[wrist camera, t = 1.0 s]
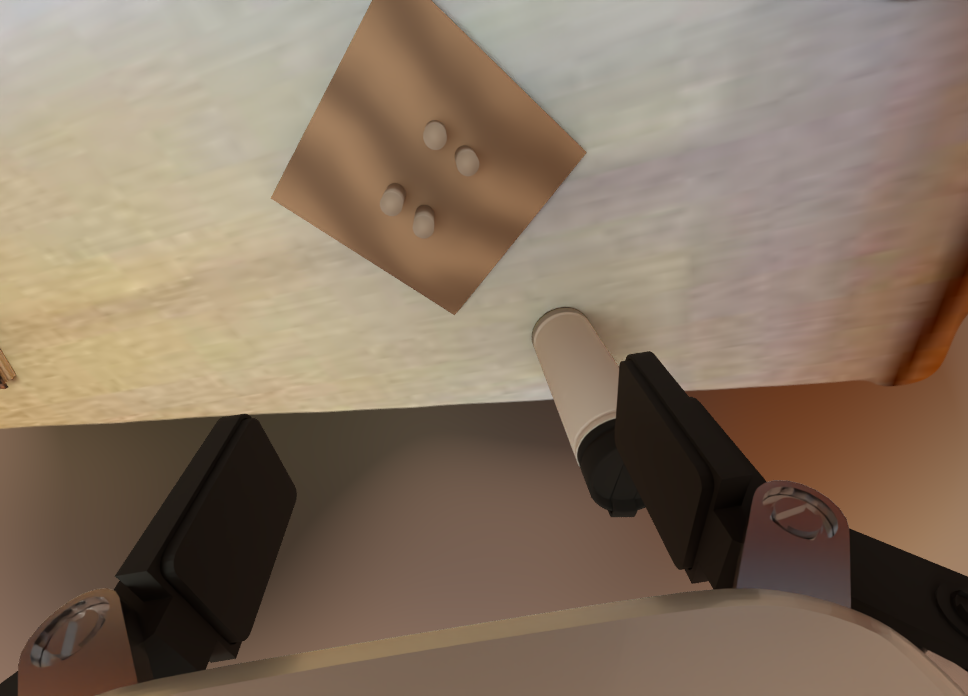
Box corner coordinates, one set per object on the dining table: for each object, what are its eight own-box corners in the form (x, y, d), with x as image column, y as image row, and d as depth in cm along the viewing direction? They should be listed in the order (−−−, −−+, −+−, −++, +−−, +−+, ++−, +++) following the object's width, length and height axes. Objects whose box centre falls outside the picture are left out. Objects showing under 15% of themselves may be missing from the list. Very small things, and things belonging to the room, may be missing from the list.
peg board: (394, -32, 27) (385, -57, 23) (581, 150, 34) (603, 159, 30) (276, 194, 34) (251, 210, 29) (454, 308, 41) (456, 336, 36)
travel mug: (526, 359, 45) (579, 519, 28) (537, 304, 42) (605, 450, 25) (580, 361, 46) (663, 519, 29) (596, 308, 43) (699, 452, 26)
